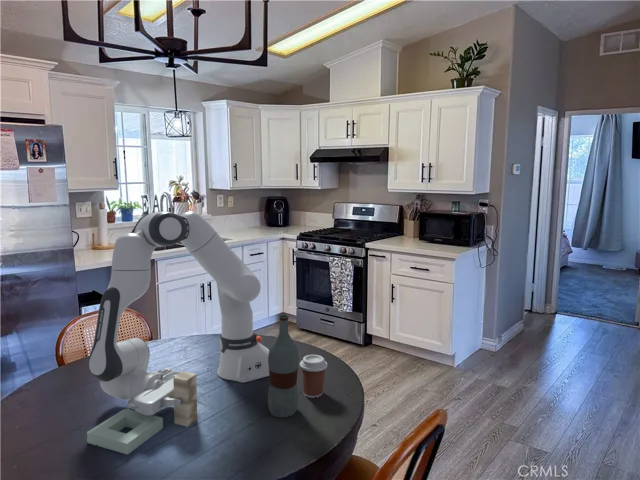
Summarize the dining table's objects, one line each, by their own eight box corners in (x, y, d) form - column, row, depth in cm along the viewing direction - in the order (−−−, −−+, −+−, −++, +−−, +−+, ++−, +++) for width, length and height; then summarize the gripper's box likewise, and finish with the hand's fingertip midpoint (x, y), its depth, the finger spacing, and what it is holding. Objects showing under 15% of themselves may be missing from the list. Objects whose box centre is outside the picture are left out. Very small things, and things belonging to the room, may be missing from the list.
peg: (184, 416, 136) (183, 371, 134) (197, 419, 135) (196, 374, 132) (174, 423, 132) (173, 377, 130) (187, 427, 130) (186, 380, 128)
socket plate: (125, 418, 134) (124, 408, 134) (163, 427, 130) (162, 417, 129) (87, 442, 122) (86, 432, 121) (127, 454, 117) (127, 443, 117)
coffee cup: (317, 402, 146) (317, 366, 144) (293, 394, 150) (294, 360, 149) (331, 391, 153) (332, 357, 152) (309, 384, 158) (309, 351, 156)
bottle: (299, 404, 144) (301, 312, 140) (296, 419, 135) (297, 321, 131) (270, 402, 145) (270, 310, 141) (265, 417, 136) (265, 320, 132)
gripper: (122, 394, 127) (163, 404, 122) (171, 365, 146) (208, 373, 141) (123, 415, 127) (164, 426, 123) (171, 384, 146) (208, 392, 142)
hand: (188, 397), depth 132 cm, fingers open, 5 cm apart
